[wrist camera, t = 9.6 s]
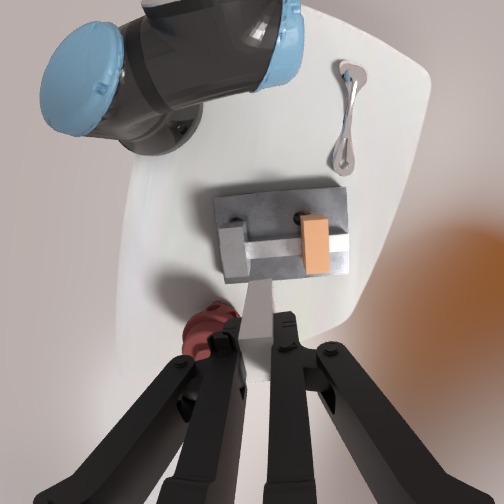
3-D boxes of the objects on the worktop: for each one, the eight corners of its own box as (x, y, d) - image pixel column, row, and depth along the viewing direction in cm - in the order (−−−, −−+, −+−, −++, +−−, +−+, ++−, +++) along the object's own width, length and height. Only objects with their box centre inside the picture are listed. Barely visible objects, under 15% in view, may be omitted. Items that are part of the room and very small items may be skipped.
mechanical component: (207, 344, 49) (186, 298, 47) (258, 334, 48) (241, 285, 45) (191, 388, 38) (162, 336, 35) (254, 380, 36) (230, 324, 34)
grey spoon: (362, 179, 36) (330, 172, 36) (354, 180, 39) (325, 174, 39) (370, 59, 31) (341, 51, 31) (363, 67, 35) (336, 60, 35)
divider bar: (219, 221, 40) (210, 229, 34) (344, 210, 38) (356, 217, 32) (225, 263, 41) (217, 278, 36) (345, 253, 40) (356, 266, 34)
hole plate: (216, 197, 42) (212, 199, 39) (340, 186, 40) (346, 187, 37) (227, 276, 45) (224, 284, 42) (343, 267, 43) (348, 273, 40)
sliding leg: (298, 213, 38) (303, 221, 32) (319, 211, 38) (328, 219, 32) (301, 259, 40) (306, 274, 34) (321, 257, 40) (329, 272, 34)
